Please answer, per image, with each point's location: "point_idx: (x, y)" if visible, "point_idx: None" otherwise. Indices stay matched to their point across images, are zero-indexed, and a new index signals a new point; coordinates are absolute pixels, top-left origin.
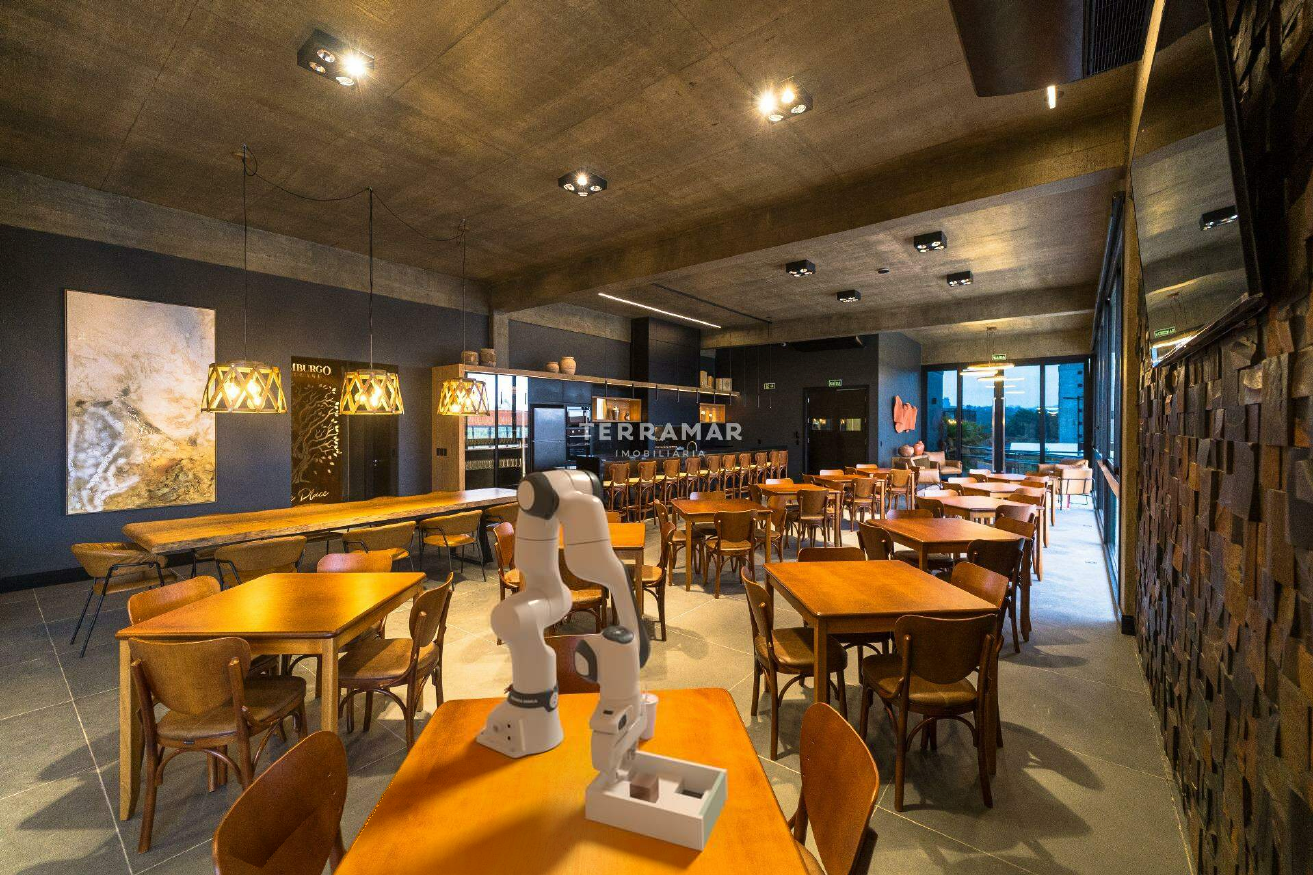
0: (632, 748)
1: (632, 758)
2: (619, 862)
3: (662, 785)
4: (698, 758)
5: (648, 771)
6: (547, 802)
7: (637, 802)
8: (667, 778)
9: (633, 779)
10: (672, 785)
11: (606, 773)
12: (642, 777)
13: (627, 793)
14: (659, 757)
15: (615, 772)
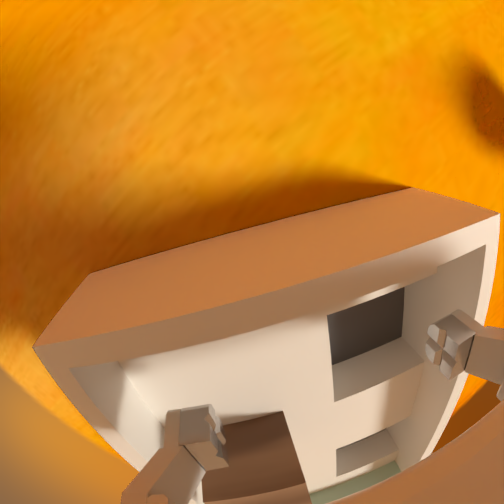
0: (474, 359)
1: (429, 352)
2: (83, 431)
3: (355, 419)
4: (495, 320)
5: (423, 322)
6: (63, 65)
7: None
8: (393, 403)
9: (239, 497)
10: (365, 429)
11: (152, 458)
12: (273, 500)
13: (252, 390)
14: (452, 393)
15: (194, 488)
